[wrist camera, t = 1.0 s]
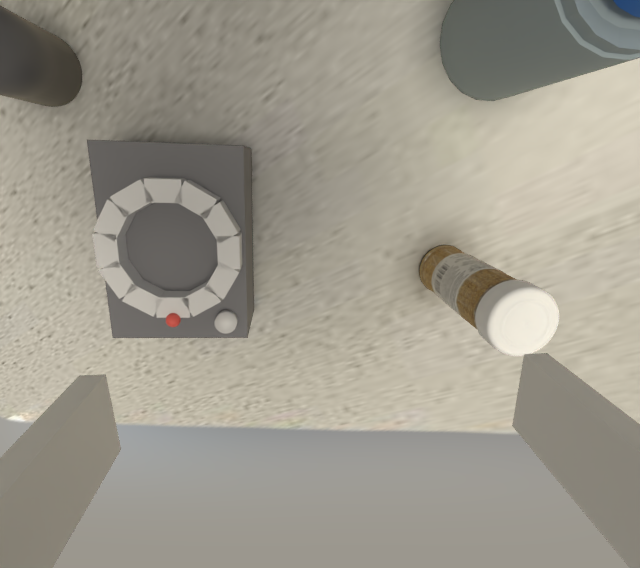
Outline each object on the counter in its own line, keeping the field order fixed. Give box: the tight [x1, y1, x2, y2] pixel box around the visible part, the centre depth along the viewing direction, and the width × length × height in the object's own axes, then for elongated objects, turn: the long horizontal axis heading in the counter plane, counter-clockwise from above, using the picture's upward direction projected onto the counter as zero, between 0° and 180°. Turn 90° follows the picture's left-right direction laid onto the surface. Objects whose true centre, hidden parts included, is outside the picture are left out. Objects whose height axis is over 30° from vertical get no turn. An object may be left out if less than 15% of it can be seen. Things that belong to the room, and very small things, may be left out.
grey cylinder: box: [0, 6, 82, 107], centre depth 25 cm, size 5×5×10 cm
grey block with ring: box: [87, 140, 254, 338], centre depth 30 cm, size 14×10×8 cm
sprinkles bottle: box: [420, 245, 559, 356], centre depth 30 cm, size 5×5×13 cm
